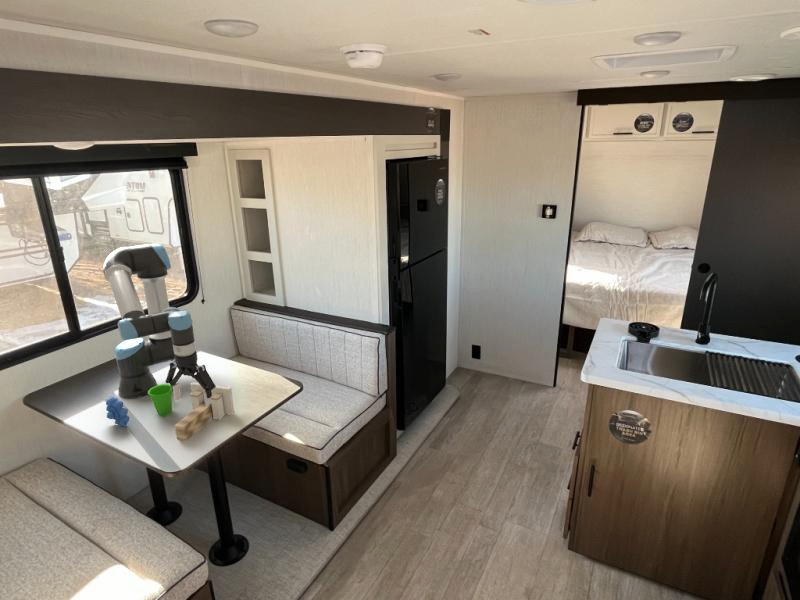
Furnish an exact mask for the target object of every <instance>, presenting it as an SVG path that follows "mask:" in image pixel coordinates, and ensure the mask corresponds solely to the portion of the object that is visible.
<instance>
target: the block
mask: <svg viewBox="0 0 800 600" xmlns="http://www.w3.org/2000/svg"><path fill="white" fill-rule="evenodd" d="M212 419H214V418H213V411H212V405H211V404H210V405H208V406H205V401H204V402H203V403H202V404H201V405H199V406H198V407H197V408H196V409H194V410H193V409H192V410H191V412H189V413H188V414H187V415H185V417H183V418H182V419H181V420H179V421H178V422H177V423H176V424H174V429H175V435H176V439H177V440H181V441H188V440H189V439H190V438H191V437H192V436H194V435H195V434H196V433H197V432H198V431H200V429H201V428H202V427H204V426H205V425H206V424H207V423H209V422H210V420H212Z"/></svg>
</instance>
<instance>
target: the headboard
mask: <svg viewBox="0 0 800 600" xmlns="http://www.w3.org/2000/svg"><path fill="white" fill-rule="evenodd" d="M189 385H190V390H191V393H190V395H189V397H190V398H191V401H192V411H193V410H194V409H196V408H197V407H198V406H199V405H201V404H202V403H203V402H204V401H205V400H204V393H203V391H204V389H203V388H202V386H201V385H200V384H199V383H198V382H195V381H193V382H191V383H190V384H189ZM215 386H216V387H215V388H214V389H213V390H211V392H212V397H211V402H212V403H211V405H212V411H213V418H212V419H214V420H219V419H220V420H222V417H223V416H224V417H225V415H227V414H228V415H227V416H233V415H235V414H234V413H235V407H234V399H233V391H232V387H228V386H222V385H217V384H215ZM224 417H223V418H224Z"/></svg>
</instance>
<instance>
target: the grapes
mask: <svg viewBox="0 0 800 600" xmlns="http://www.w3.org/2000/svg"><path fill="white" fill-rule="evenodd" d="M118 399H119V398H117V397H114V396H112V397H109V398H107V399H106V401H105V404H106V409H105V410H106V411H107V413H106V418H107V419H108V420H114V424H115V425H117V426H121V427H127V426H128V424H129V422H130V418H131V416H130V415H128V411H129V410H128V409H127V408H125V407H124V402H122V401H120V400H118Z"/></svg>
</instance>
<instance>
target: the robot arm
mask: <svg viewBox="0 0 800 600" xmlns="http://www.w3.org/2000/svg"><path fill="white" fill-rule="evenodd" d="M171 266H172V265H171V261H170V258H169V255H168V252H167V250H166V248H165V247H164V246H163V245H162V244H160V243H149V244H148V243H147V244H140V245H134V246H133V245H132V246H123V247H119V248H116V249H115V250H113V251H112V252H111V253H110V254H109V255H108V256H107V257H106V259H105V261H104V263H103V267H102V271H103V272H102V273H103V276H104V279H105V280H106V281H107V282H108V283H109V284H110V287H111V291H112V294H113V296H114V297H113V298H114V300H115V302H116V305H117V308H118V312H119V315H120V317H121V318H120V319H121V320H118V322H117V328H118V331H119V336H120V338H121V339H122V340H123V341H122V342H120V343H119V344H117V346H115V349H114V354H115V360H116V363H117V368H118V372H119V373H118V374H119V377H120V379H119V386H118V388H117V389H118V390H117V391H118V395H119V396H120V397H121V398H122V399H123V398H124V399H137V398H141V397H143V396H144V397H146V396H147V395H149V394H148V391H149V390H150V389H151V388H152V387H154V386H157V385H158V382H157V380H156V378H155V377H154V375H153V373H152V372H151V370H150V367H151V366H156V365H159V364H164V363H168V362H170V363H169V369H168V373H167V376H166V378H165V384H169V385H171V388H172V394H173V398H174V402H178V401H179V400H180V399H182V394H181V389H180V382H178V381H179V380H180V379H181V377H182V376H188V377H191V378H192V379H195V381H196V383H199V384H200V385H201V386H202V388H203V389H204V391H203V393H204V400H205V406H208V405H210V404H211V403H212V402H211V397H212V392H211V390H213V389H214V388H215V387H216V386H217V385H216V384H215V382H214V380H213V379H212V377H211V376H210V374H209V372H208V371H207V367H206V365H205V364H202V365H199V364H198V353H197V347H196V340H195V334H194V327H193V319H192V315H191V312H189V311H185V310H181V309H180V308H177V307H173V306H170V301H169V297H168V290H167V286H166V284H167V283H166V281H165V279H166V277H167V276H168V271H169V270H171V268H172V267H171ZM132 275H136V276H137V278H138V279H139V280H140V281H142V285H143V290H144V291H143V292H144V296H145V301H146V307H147V313H148V314H145V310H144V308H143V305H142V303H141V301H140V297H139V295H138V293H137V290H136V287H135V284H134V282H133V280H132ZM144 337H148V338H149V339H146V340H145V339H144ZM177 369H178V371H177V372H176V370H177ZM215 385H216V386H215Z"/></svg>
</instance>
